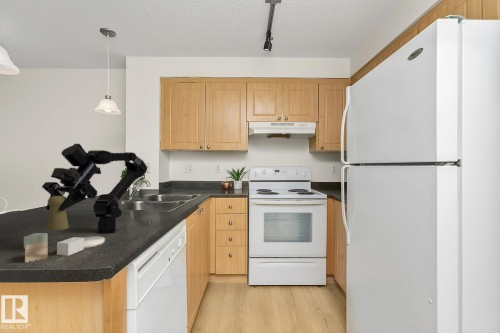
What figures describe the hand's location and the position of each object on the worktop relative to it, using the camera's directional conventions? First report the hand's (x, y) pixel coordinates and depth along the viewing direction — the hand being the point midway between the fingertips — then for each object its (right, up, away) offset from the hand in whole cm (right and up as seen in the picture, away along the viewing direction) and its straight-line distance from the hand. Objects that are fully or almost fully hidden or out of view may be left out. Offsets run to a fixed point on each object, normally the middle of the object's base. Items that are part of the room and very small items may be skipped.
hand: (53, 209), depth 81 cm
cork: (0, -7, +1) cm, 7 cm away
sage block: (-9, -13, +3) cm, 17 cm away
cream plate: (+7, -13, +7) cm, 17 cm away
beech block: (+1, -14, -7) cm, 15 cm away
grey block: (+7, -14, -2) cm, 15 cm away
